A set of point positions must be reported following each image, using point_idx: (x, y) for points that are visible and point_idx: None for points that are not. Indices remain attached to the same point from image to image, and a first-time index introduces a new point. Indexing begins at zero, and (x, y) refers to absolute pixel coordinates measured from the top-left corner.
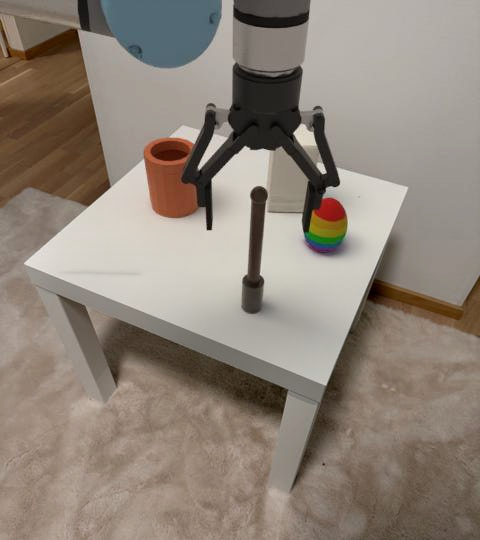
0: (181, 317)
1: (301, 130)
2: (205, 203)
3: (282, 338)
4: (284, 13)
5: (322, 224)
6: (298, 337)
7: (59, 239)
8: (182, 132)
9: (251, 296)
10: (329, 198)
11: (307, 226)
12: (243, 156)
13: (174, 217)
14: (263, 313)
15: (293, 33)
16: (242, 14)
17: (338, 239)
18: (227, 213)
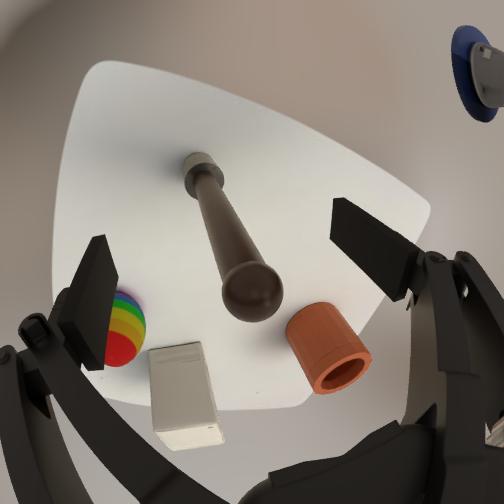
0: (297, 133)
1: (185, 443)
2: (390, 229)
3: (146, 113)
4: None
5: (114, 324)
6: (123, 120)
7: (415, 242)
8: (302, 401)
9: (203, 159)
10: (115, 364)
11: (93, 245)
12: (241, 398)
13: (314, 304)
14: (178, 155)
15: None
16: None
17: None
18: (251, 327)
